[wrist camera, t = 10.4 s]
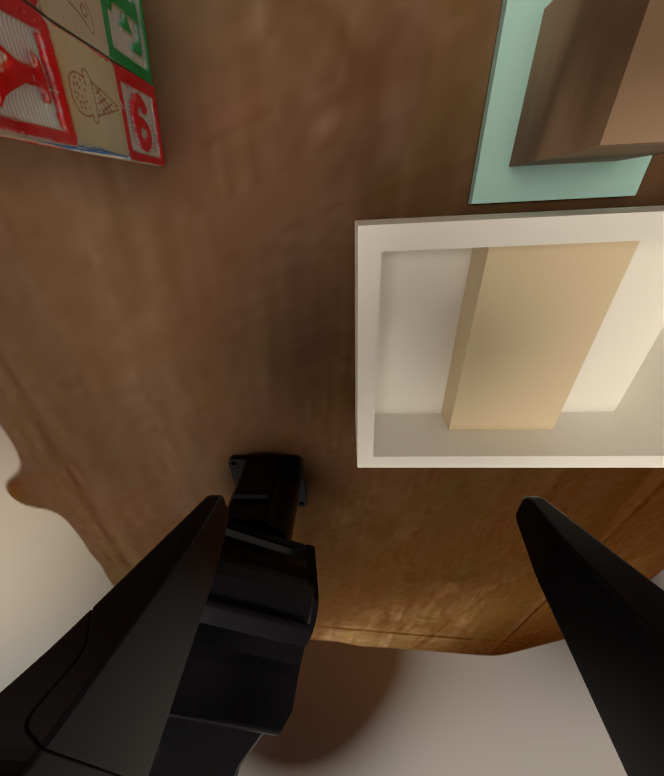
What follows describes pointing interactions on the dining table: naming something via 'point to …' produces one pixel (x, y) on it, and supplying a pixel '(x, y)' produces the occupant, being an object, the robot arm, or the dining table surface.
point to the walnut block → (594, 84)
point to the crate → (511, 340)
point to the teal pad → (501, 124)
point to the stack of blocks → (79, 78)
